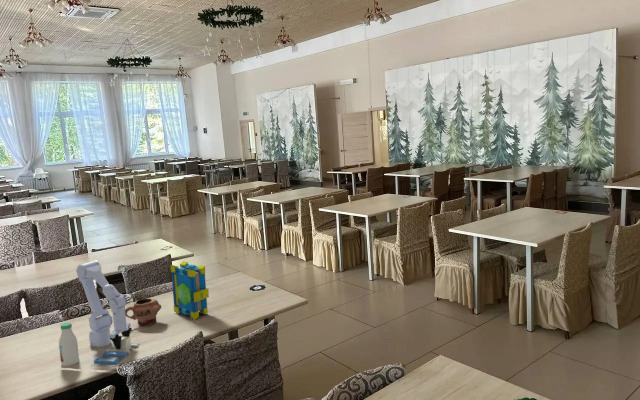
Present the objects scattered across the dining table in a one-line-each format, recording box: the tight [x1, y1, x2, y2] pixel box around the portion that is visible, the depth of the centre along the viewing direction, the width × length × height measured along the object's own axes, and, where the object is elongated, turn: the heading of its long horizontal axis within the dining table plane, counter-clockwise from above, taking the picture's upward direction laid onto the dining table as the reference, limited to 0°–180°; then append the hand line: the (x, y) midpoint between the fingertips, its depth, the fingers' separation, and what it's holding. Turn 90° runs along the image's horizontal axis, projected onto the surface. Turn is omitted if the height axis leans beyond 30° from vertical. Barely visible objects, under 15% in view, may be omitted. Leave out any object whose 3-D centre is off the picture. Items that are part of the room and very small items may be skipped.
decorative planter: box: [125, 297, 162, 327], centre depth 273 cm, size 20×12×14 cm, turn 125°
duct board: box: [90, 342, 141, 368], centre depth 236 cm, size 12×24×3 cm, turn 170°
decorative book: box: [170, 260, 210, 320], centre depth 286 cm, size 14×23×30 cm, turn 53°
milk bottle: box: [58, 322, 80, 367], centre depth 228 cm, size 8×8×20 cm
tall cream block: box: [112, 335, 132, 350], centre depth 240 cm, size 7×4×6 cm, turn 80°
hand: (122, 345), depth 240 cm, fingers open, 6 cm apart
